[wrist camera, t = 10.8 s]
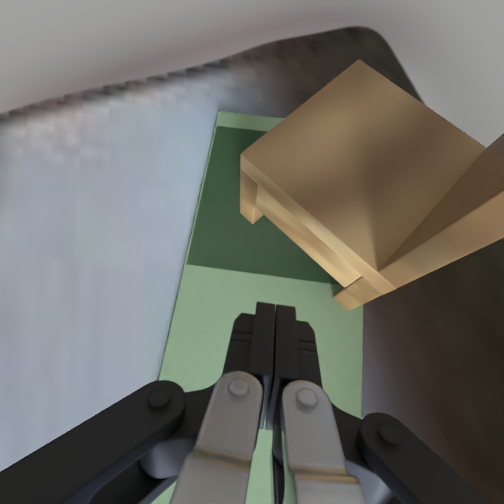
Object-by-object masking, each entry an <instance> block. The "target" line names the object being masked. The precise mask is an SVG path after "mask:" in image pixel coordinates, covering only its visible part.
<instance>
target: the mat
mask: <svg viewBox="0 0 504 504" xmlns="http://www.w3.org/2000/svg"><path fill="white" fill-rule="evenodd" d="M283 119H285V118H276V117H267V116H258V115H250V114H241V113H232V112H223V111H218V115H217V120H216V124H215V129H214V133H213V138H212V142H211V147H210V151H209V156H208V160H207V165H206V169H205V174H204V179H203V183H202V188H201V192H200V197H199V201H198V206H197V210H196V215H195V219H194V224H193V228H192V233H191V237H190V242H189V246H188V251H187V255H186V260H185V264H184V269H183V273H182V278H181V282H180V287H179V291H178V296H177V300H176V305H175V309H174V314H173V318H172V323H171V327H170V332H169V336H168V341H167V345H166V350H165V354H164V359H163V363H162V368H161V372H160V377H159V380H168V381H172V382H175V383H177V384H178V385H180V386H181V387H182V389H183V390H184V392H190V391H197V390H202V389H205V388H208V387H210V386H212V385H213V384H214V383H216V382H217V380H218V379H219V378H220V376H221V375H222V372H223V367H224V363H225V359H226V354H227V350H228V345H229V341H230V336H231V332H232V328H233V323H234V320H235V319H236V318H237V317H238V316H239V315H240V314H241V313H248V314H255V311H256V304H257V302H265V303H272V304H275V309H276V304H280V305H287V306H294V307H295V308H296V320H299V321H307V322H308V323H309V324H310V326H311V327H312V328H313V330H314V331H315V338H316V345H317V353H318V359H319V366H320V373H321V380H322V386H323V390H324V391H325V392H326V393H327V395H328V397H329V398H330V401H331V402H332V403H333V404H334V405H335V406H336V407H338V408H339V409H341V410H343V411H345V412H347V413H349V414H351V415H353V416H356V417H358V418H360V419H362V363H363V304H362V305H360V306H358V307H356V308H354V309H352V310H349V311H346V310H345V309H344V308H343V307H342V306H341V305H340V304H338V303H337V302H336V301H335V300H334V299H333V296H334V295H335V294H336V293H337V291H338V290H339V289H340V288H341V287H342V285H341V284H340V283H339V282H338V281H337V280H336V279H334V278H333V277H332V276H331V275H330V274H329V273H328V272H327V271H326V270H324V269H323V268H322V267H321V266H320V265H319V264H318V263H317V262H316V261H315V260H313V259H312V258H311V257H310V256H309V255H308V254H307V253H306V252H305V251H304V250H302V249H301V248H300V247H299V246H298V245H297V244H296V243H295V242H294V241H292V240H291V239H290V238H289V237H288V236H287V235H286V234H285V233H284V232H283V231H281V230H280V229H279V228H278V227H277V226H276V225H275V224H274V223H273V222H272V221H270V220H269V219H268V218H267V217H266V216H265V215H263V216H262V217H260V218H259V219H258V220H257V221H256V222H255V223H254V224H252V223H251V222H249V221H248V220H247V219H246V218H245V217H244V216H243V215H242V214H241V213H240V156H241V153H242V152H243V151H245V150H246V149H247V148H248V147H250V146H251V145H252V144H253V143H255V142H256V141H257V140H258V139H260V138H261V137H262V136H263V135H265V134H266V133H267V132H268V131H270V130H271V129H272V128H273V127H275V126H276V125H277V124H278V123H280V122H281V121H282V120H283ZM265 423H266V416H265V421H264V427H263V429H259V433H258V438H257V444H256V448H255V451H254V452H253V458H252V465H251V471H250V477H249V484H248V490H247V496H246V502H245V504H272V503H271V476H270V452H271V447H272V434H273V431H272V430H265ZM176 482H177V480H176V481H175V482H174V483H173V484H172V485H171V486H170V487H169V488H168V489H166V490H165V491H164V492H163V493H162V494H161V495H160V496H159V497H157V498H156V499H155V500H154V501H153V502H152V503H151V504H169V502H170V499H171V496H172V494H173V491H174V488H175V485H176Z"/></svg>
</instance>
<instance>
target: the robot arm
mask: <svg viewBox="0 0 504 504" xmlns="http://www.w3.org/2000/svg"><path fill="white" fill-rule="evenodd" d="M265 416H266V423H265V430H272V431H273V434H272V447H271V452H270V476H271V503H272V504H490V503H489V502H488V501H487V500H486V499H485V498H484V497H483V496H482V495H481V494H479V493H478V492H477V491H476V490H475V489H474V488H473V487H472V486H471V485H470V484H468V483H467V482H466V481H465V480H464V479H463V478H462V477H461V476H460V475H459V474H458V473H456V472H455V471H454V470H453V469H452V468H451V467H450V466H449V465H448V464H447V463H445V462H444V461H443V460H442V459H441V458H440V457H439V456H438V455H437V454H436V453H434V452H433V451H432V450H431V449H430V448H429V447H428V446H427V445H426V444H425V443H424V442H422V441H421V440H420V439H419V438H418V437H417V436H416V435H415V434H414V433H413V432H411V431H410V430H409V429H408V428H407V427H406V426H405V425H404V424H403V423H401V422H400V421H399V420H397V419H396V418H394V417H392V416H390V415H387V414H384V413H370V414H368V415H366V416H365V417H364V418H363V420H362V419H360V418H358V417H356V416H353V415H351V414H349V413H347V412H345V411H343V410H341V409H339V408H338V407H336V406H335V405H334V404H333V403H332V402H331V401H330V398H329V397H328V395H327V393H326V392H325V391H324V390H323V386H322V380H321V373H320V366H319V359H318V353H317V345H316V338H315V331H314V330H313V328H312V327H311V326H310V324H309V323H308V322H307V321H299V320H296V308H295V307H294V306H287V305H280V304H276V309H275V304H272V303H265V302H257V304H256V311H255V314H248V313H241V314H240V315H239V316H238V317H237V318H236V319H235V320H234V323H233V328H232V332H231V336H230V341H229V345H228V350H227V354H226V359H225V363H224V367H223V372H222V375H221V376H220V378H219V379H218V380H217V382H216V383H214V384H213V385H212V386H210V387H208V388H205V389H202V390H197V391H190V392H184V390H183V389H182V387H181V386H180V385H178V384H177V383H175V382H172V381H168V380H158V381H154V382H151V383H149V384H147V385H145V386H143V387H142V388H140V389H138V390H137V391H135V392H133V393H132V394H130V395H128V396H127V397H125V398H123V399H122V400H120V401H118V402H117V403H115V404H113V405H111V406H110V407H108V408H106V409H105V410H103V411H101V412H100V413H98V414H96V415H95V416H93V417H91V418H90V419H88V420H86V421H85V422H83V423H81V424H80V425H78V426H76V427H75V428H73V429H71V430H70V431H68V432H66V433H65V434H63V435H61V436H60V437H58V438H56V439H55V440H53V441H51V442H50V443H48V444H46V445H45V446H43V447H41V448H40V449H38V450H36V451H34V452H33V453H31V454H29V455H28V456H26V457H24V458H23V459H21V460H19V461H18V462H16V463H14V464H13V465H11V466H9V467H8V468H6V469H4V470H3V471H1V472H0V504H151V503H152V502H153V501H154V500H155V499H156V498H157V497H159V496H160V495H161V494H162V493H163V492H164V491H165V490H166V489H168V488H169V487H170V486H171V485H172V484H173V483H174V482H175V481H176V480H177V482H176V485H175V488H174V491H173V494H172V496H171V499H170V502H169V504H245V502H246V496H247V490H248V484H249V477H250V471H251V465H252V458H253V452H254V451H255V448H256V444H257V438H258V433H259V429H263V427H264V421H265Z"/></svg>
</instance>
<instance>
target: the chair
mask: <svg viewBox="0 0 504 504" xmlns="http://www.w3.org/2000/svg"><path fill="white" fill-rule="evenodd" d="M240 213H241V214H242V215H243V216H244V217H245V218H246V219H247V220H248V221H249V222H251V223H252V224H254V223H255V222H256V221H257V220H258V219H259V218H260V217H262V216H263V215H265V216H266V217H267V218H268V219H269V220H270V221H272V222H273V223H274V224H275V225H276V226H277V227H278V228H279V229H280V230H281V231H283V232H284V233H285V234H286V235H287V236H288V237H289V238H290V239H291V240H292V241H294V242H295V243H296V244H297V245H298V246H299V247H300V248H301V249H302V250H304V251H305V252H306V253H307V254H308V255H309V256H310V257H311V258H312V259H313V260H315V261H316V262H317V263H318V264H319V265H320V266H321V267H322V268H323V269H324V270H326V271H327V272H328V273H329V274H330V275H331V276H332V277H333V278H334V279H336V280H337V281H338V282H339V283H340V284H341V285H342V287H341V288H340V289H339V290H338V291H337V293H336V294H335V295H334V296H333V299H334V300H335V301H336V302H337V303H338V304H340V305H341V306H342V307H343V308H344V309H345V310H346V311H349V310H352V309H354V308H356V307H358V306H360V305H362V304H364V303H366V302H368V301H371V300H373V299H375V298H377V297H379V296H381V295H384V294H386V293H388V292H390V291H393V290H395V289H397V288H398V287H400V286H403V285H405V284H407V283H409V282H411V281H413V280H415V279H417V278H419V277H422V276H424V275H426V274H428V273H430V272H432V271H434V270H436V269H438V268H441V267H443V266H445V265H447V264H449V263H451V262H453V261H455V260H457V259H460V258H462V257H464V256H466V255H468V254H470V253H472V252H474V251H477V250H479V249H481V248H483V247H485V246H487V245H489V244H491V243H493V242H496V241H498V240H500V239H502V238H504V134H503V135H501V136H500V137H499V138H498V139H497V140H496V141H494V142H493V143H492V144H491V145H490V146H489V147H487V148H486V147H484V146H483V145H481V144H480V143H478V142H477V141H476V140H474V139H473V138H471V137H470V136H469V135H467V134H466V133H464V132H463V131H461V130H460V129H459V128H457V127H456V126H454V125H453V124H451V123H450V122H448V121H447V120H446V119H444V118H443V117H441V116H440V115H438V114H437V113H436V112H434V111H433V110H431V109H430V108H428V107H427V106H426V105H424V104H423V103H421V102H420V101H418V100H417V99H415V98H414V97H413V96H411V95H410V94H408V93H407V92H405V91H404V90H403V89H401V88H400V87H398V86H397V85H395V84H394V83H392V82H391V81H390V80H388V79H387V78H385V77H384V76H382V75H381V74H380V73H378V72H377V71H375V70H374V69H372V68H371V67H370V66H368V65H367V64H365V63H364V62H362V61H361V60H359V59H358V60H357V61H356V62H355V63H353V64H352V65H351V66H350V67H348V68H347V69H346V70H345V71H343V72H342V73H341V74H340V75H338V76H337V77H336V78H335V79H333V80H332V81H331V82H330V83H328V84H327V85H326V86H325V87H323V88H322V89H321V90H320V91H318V92H317V93H316V94H315V95H313V96H312V97H311V98H310V99H308V100H307V101H306V102H305V103H303V104H302V105H301V106H300V107H298V108H297V109H296V110H295V111H293V112H292V113H291V114H290V115H288V116H287V117H286V118H285V119H283V120H282V121H281V122H280V123H278V124H277V125H276V126H275V127H273V128H272V129H271V130H270V131H268V132H267V133H266V134H265V135H263V136H262V137H261V138H260V139H258V140H257V141H256V142H255V143H253V144H252V145H251V146H250V147H248V148H247V149H246V150H245V151H243V152H242V153H241V156H240Z"/></svg>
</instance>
